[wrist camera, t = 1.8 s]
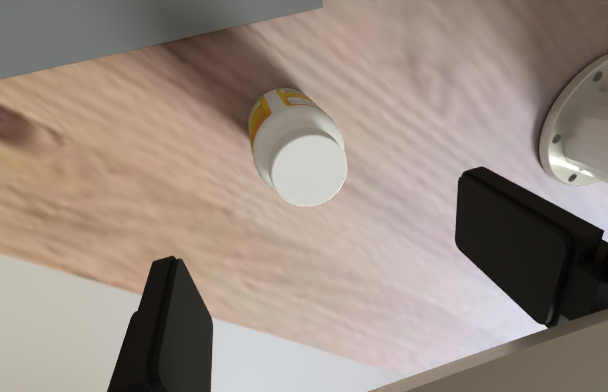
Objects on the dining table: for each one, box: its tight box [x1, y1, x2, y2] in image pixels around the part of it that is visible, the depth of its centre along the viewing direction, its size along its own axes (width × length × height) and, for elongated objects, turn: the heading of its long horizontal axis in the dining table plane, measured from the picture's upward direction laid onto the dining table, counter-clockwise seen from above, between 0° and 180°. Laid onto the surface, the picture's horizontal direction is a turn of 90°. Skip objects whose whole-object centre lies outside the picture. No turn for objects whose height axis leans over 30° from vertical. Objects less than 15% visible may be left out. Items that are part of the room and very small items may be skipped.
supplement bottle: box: [248, 88, 347, 207], centre depth 20 cm, size 5×5×10 cm
